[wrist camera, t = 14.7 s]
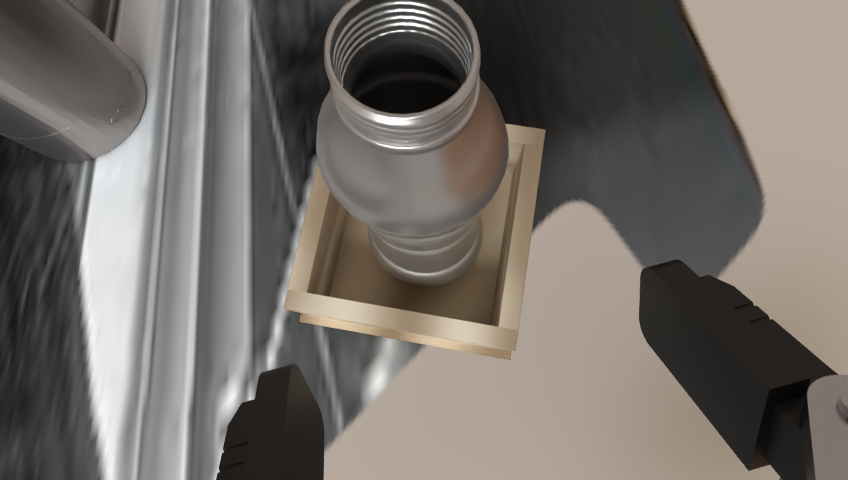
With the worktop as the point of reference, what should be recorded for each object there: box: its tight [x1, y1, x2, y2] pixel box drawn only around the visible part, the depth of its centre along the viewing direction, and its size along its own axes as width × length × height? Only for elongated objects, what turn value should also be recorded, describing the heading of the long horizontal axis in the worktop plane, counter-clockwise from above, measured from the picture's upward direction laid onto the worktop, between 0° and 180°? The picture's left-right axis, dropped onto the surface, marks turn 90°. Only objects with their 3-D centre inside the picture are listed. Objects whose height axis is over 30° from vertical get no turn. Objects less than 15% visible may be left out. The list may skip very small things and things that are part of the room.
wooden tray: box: [283, 124, 545, 360], centre depth 29 cm, size 13×13×6 cm
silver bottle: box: [316, 0, 509, 287], centre depth 21 cm, size 6×7×20 cm
